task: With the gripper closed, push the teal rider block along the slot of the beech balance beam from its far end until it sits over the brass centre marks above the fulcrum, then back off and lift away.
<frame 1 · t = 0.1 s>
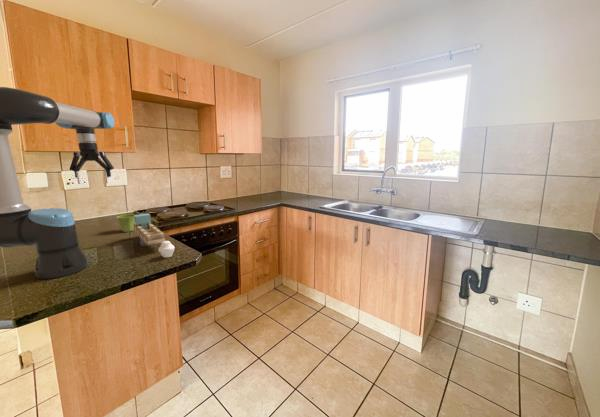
hand: (94, 183, 141), 28 cm above the countertop, tool pointing down, fingers open, 13 cm apart
beam: (149, 243, 129), on the countertop
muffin: (167, 256, 112), on the countertop
rider: (142, 221, 134), point 9 cm above the countertop, slide at 9.0 cm
plant pot: (128, 230, 152), on the countertop
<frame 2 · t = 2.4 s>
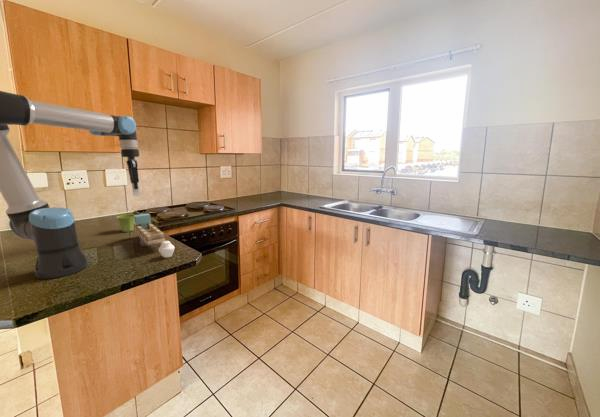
hand: (136, 195, 137), 22 cm above the countertop, tool pointing down, fingers closed
nothing on the countertop moved.
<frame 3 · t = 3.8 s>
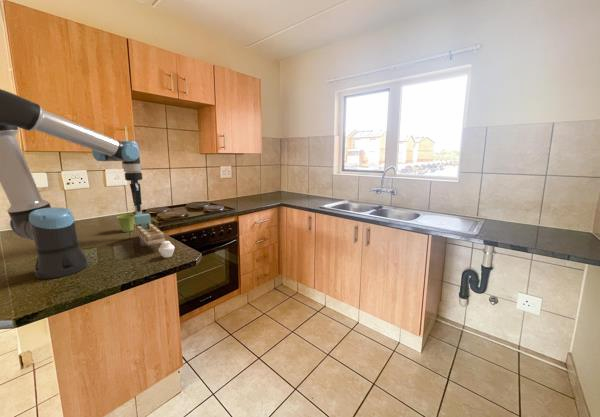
hand: (139, 217, 139), 10 cm above the countertop, tool pointing down, fingers closed
nothing on the countertop moved.
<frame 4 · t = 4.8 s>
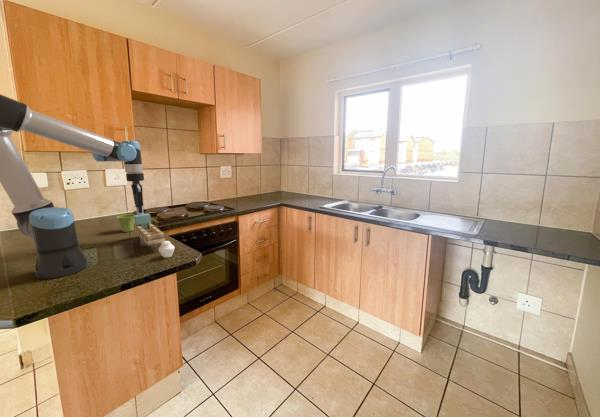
hand: (141, 218, 136), 10 cm above the countertop, tool pointing down, fingers closed
rider: (142, 221, 134), point 9 cm above the countertop, slide at 9.0 cm, touching gripper
everything else where it was.
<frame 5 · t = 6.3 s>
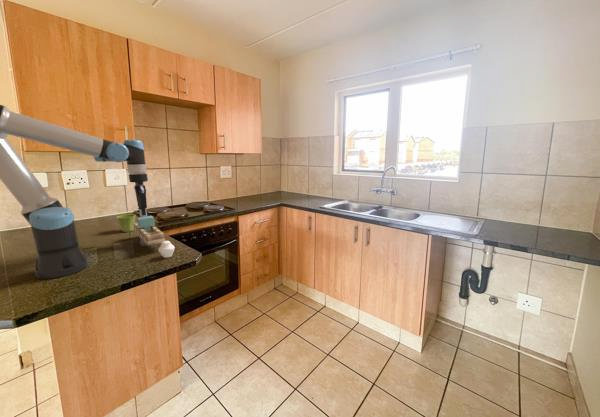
hand: (144, 221, 130), 10 cm above the countertop, tool pointing down, fingers closed
rider: (146, 224, 128), point 9 cm above the countertop, slide at 1.4 cm, touching gripper
everything else where it was.
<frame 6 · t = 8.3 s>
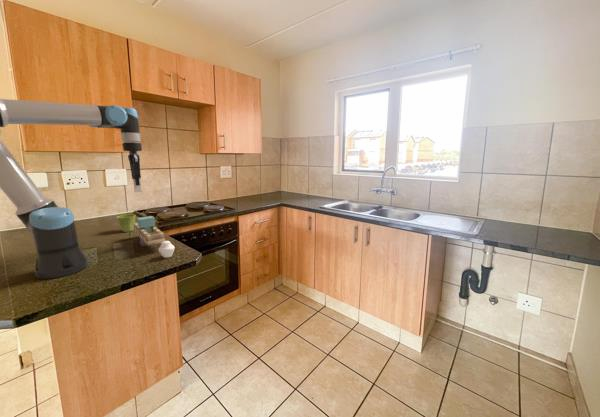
hand: (138, 191, 129), 25 cm above the countertop, tool pointing down, fingers closed
rider: (146, 224, 127), point 9 cm above the countertop, slide at 0.6 cm
everything else where it was.
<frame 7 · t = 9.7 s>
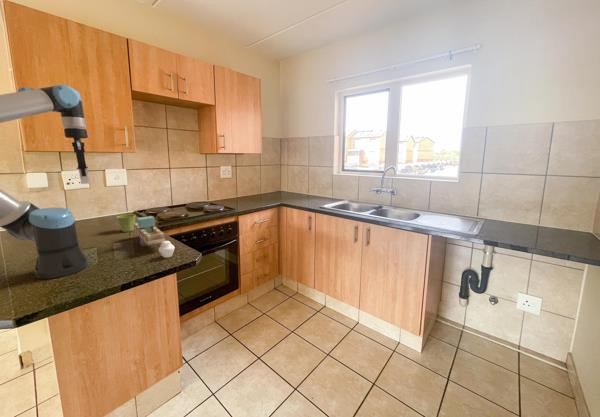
hand: (85, 183, 117), 30 cm above the countertop, tool pointing down, fingers closed
nothing on the countertop moved.
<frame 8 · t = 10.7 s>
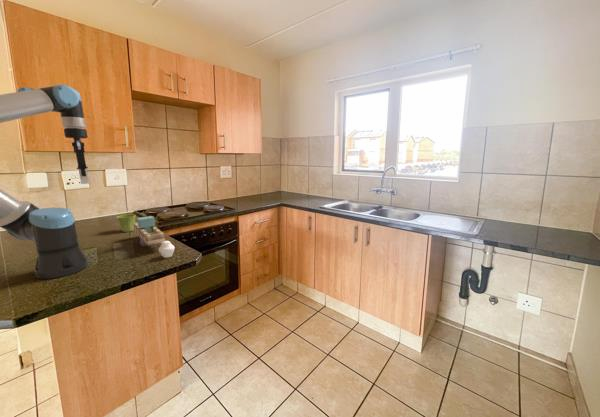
hand: (85, 183, 117), 30 cm above the countertop, tool pointing down, fingers closed
nothing on the countertop moved.
at the end: rider slide at 0.6 cm; rider touching nothing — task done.
